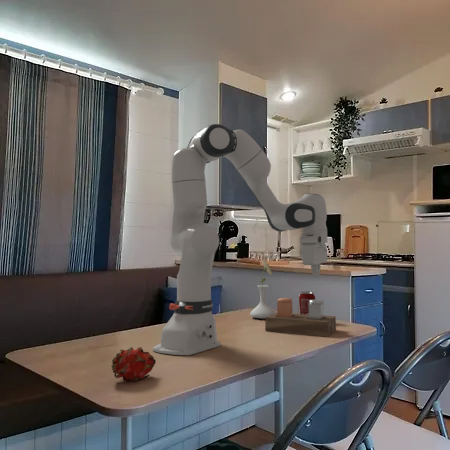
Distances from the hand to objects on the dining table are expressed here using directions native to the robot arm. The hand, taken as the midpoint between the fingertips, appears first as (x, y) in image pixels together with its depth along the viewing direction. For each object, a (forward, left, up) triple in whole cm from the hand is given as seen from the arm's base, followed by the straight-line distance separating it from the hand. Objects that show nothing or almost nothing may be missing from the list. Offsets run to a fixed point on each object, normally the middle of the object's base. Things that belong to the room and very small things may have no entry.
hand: (316, 276), depth 162 cm
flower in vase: (+20, +29, -20) cm, 41 cm away
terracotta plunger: (0, +12, -16) cm, 20 cm away
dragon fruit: (-72, +25, -20) cm, 79 cm away
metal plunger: (0, 0, -16) cm, 16 cm away
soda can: (+18, +9, -20) cm, 29 cm away
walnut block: (0, +6, -20) cm, 21 cm away
